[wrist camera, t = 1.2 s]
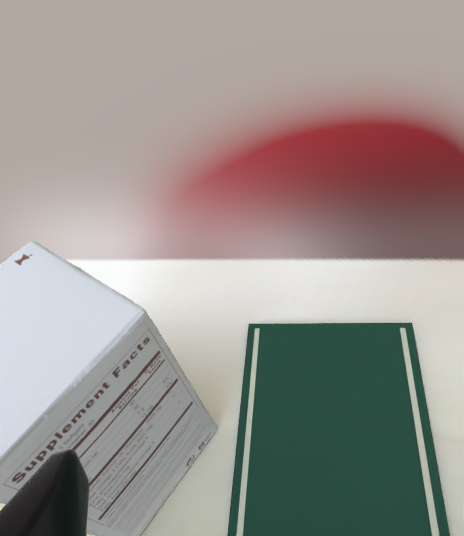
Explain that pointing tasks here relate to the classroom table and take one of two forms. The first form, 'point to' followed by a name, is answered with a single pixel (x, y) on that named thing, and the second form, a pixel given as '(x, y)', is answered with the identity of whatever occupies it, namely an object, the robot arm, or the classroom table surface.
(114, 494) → the white packaging box
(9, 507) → the robot arm
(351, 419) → the green mat
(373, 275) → the classroom table surface
